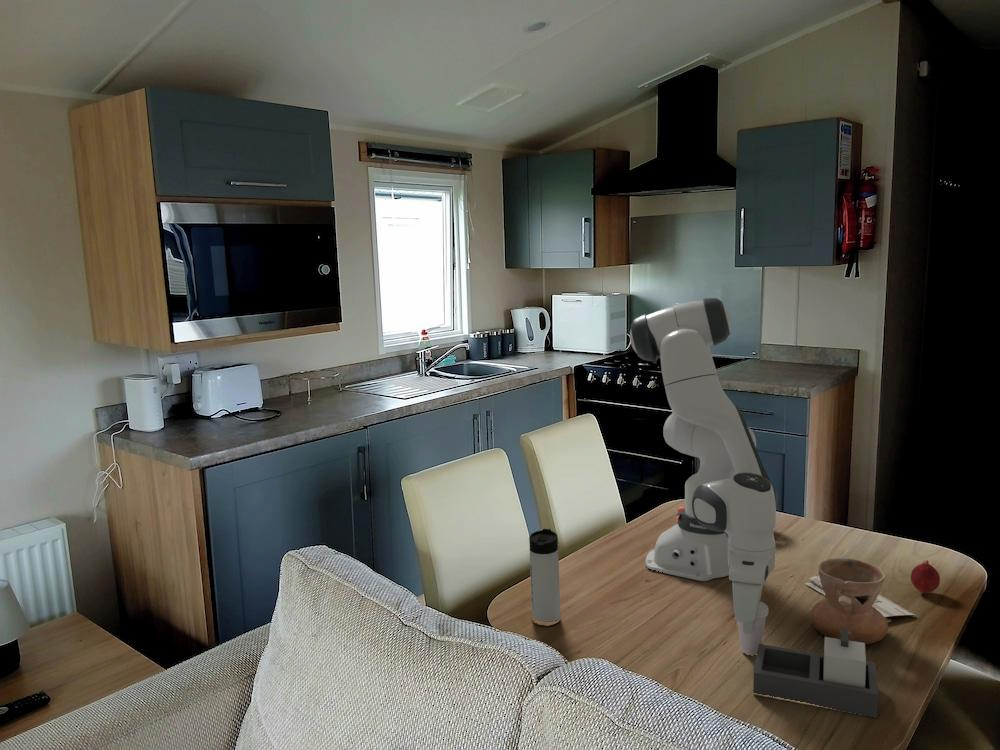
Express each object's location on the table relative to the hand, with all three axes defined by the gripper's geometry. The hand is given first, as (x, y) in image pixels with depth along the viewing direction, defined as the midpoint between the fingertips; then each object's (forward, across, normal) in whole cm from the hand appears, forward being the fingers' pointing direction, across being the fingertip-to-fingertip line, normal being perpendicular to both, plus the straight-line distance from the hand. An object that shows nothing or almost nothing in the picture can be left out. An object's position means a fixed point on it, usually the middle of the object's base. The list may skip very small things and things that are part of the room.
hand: (750, 622), depth 149 cm
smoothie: (+6, 0, 0) cm, 6 cm away
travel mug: (+6, +1, -43) cm, 43 cm away
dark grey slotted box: (+6, +7, +12) cm, 15 cm away
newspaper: (+7, -30, +20) cm, 37 cm away
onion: (+6, -38, +34) cm, 51 cm away
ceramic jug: (+6, -14, +18) cm, 24 cm away
